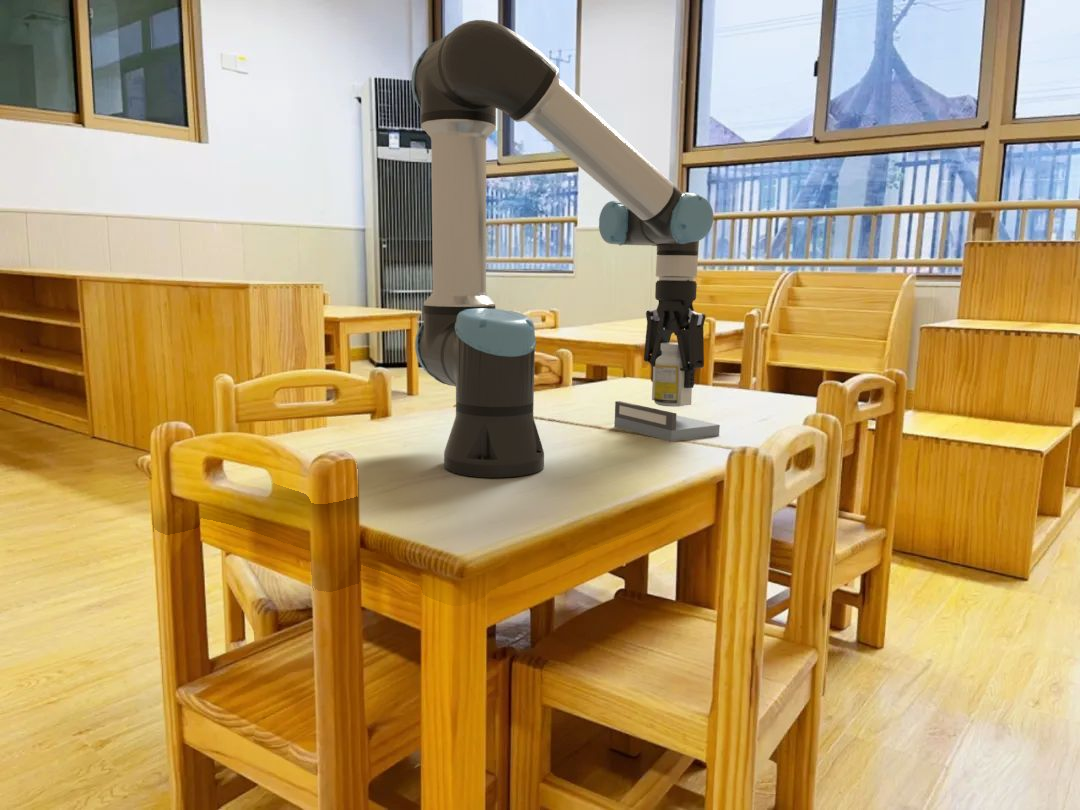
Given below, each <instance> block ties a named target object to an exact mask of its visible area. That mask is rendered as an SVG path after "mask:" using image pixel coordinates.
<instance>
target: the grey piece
mask: <svg viewBox="0 0 1080 810" xmlns="http://www.w3.org/2000/svg"><path fill="white" fill-rule="evenodd" d="M720 426H721V425H720V424H717V423H714V422H708V421H704V420H699V419H695V418H691V417H686V416H682V415H677V413H676V412H672V411H666V410H662V409H657V408H653V407H648V406H644V405H639V404H635V403H631V402H626V401H620V400H616V401H615V403H614V428H617V429H621V430H625V431H629V432H633V433H636V434H641V435H645V436H647V437H652V438H656V439H660V440H664V441H668V442H679V441H686V440H694V439H702V438H710V437H717V436H720V429H721V428H720Z"/></svg>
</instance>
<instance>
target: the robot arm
mask: <svg viewBox="0 0 1080 810" xmlns="http://www.w3.org/2000/svg"><path fill="white" fill-rule="evenodd" d="M410 81H411V84H410V86H411V91H412V96H413V98H414V101H415V103H416V105H417V106H418V107H419V109H420V122H421V124H420V125H421V126H420V127H421V128H422V129H423V131H424V132H426V134H427V135H428V136H429V137H430V140H431V141H430V142H431V143H430V144H431V153H430V154H431V224H432V225H431V226H432V227H431V228H432V230H431V231H432V232H431V233H432V235H431V236H432V238H431V239H432V244H431V246H432V248H431V250H432V293H431V295H430V296H429V297H427V299H426V300H425V301H424V302H423V323H422V324H421V325H420V327H419V328H418V330H417V332H416V336H415V342H414V349H415V355H416V358H417V361H418V363H419V365H420V367H422V369H423V370H424V372H426V374H428V375H429V376H430V377H432V378H434V380H436V381H438V382H439V383H442V384H444V385H447V386H451V387H455V418H454V421H453V424H452V427H451V430H450V433H449V435H448V439H447V442H446V446H445V448H444V451H443V467H444V469H446V470H448V471H449V472H451V473H455V474H458V475H461V476H462V475H463V476H468V477H469V476H470V477H477V478H478V477H479V478H513V477H521V476H527V475H528V476H529V475H532V474H536V473H538V472H541V471H542V470H543V469H544V468H545V451H544V448H543V444H542V441H541V438H540V435H539V431H538V429H537V428H538V427H537V425H536V421H535V416H534V405H535V404H534V402H535V400H534V397H535V396H534V394H535V358H536V357H535V356H536V354H535V353H536V351H535V350H536V344H537V341H536V332H535V324H534V322H533V320H532V318H531V317H530V316H528V315H526V314H524V313H522V312H521V313H520V312H518V311H512V310H505V309H501V308H500V309H499V308H496V303H495V301H494V300H493V299H492V298H491V297H490V296H489V295H488V294H487V140H488V138H489V137H490V136H491V135H492V134H493V133H494V132H495V130H496V129H497V125H496V124H497V122H496V121H497V110H500V111H501V112H503V113H504V114H506V115H507V116H508V117H510V118H511V119H512V120H514V122H516V123H518V122H520V123H521V122H526V123H528V124H529V125H530V126H531V127H532V128H534V129H535V130H536V131H537V132H538V133H539V134H541V135H542V136H543V138H545V139H547V140H548V141H549V142H550V143H551V144H552V145H554V147H556V149H558V150H559V151H561V152H562V153H563V154H564V155H565V156H566V157H567V158H568V159H570V160H571V161H572V162H573V163H575V164H576V166H578V167H579V168H580V169H581V170H583V171H584V172H585V173H586V174H588V176H589V177H590V178H592V179H593V180H594V181H595V182H597V183H598V185H600V186H601V187H602V188H603V189H605V190H606V191H608V193H609V194H611V195H612V196H613V197H614V198H616V200H610V201H608V202H607V203H605V204H604V206H603V207H602V209H601V210H600V213H599V218H598V230H599V235H600V236H601V239H602V240H603V241H604V242H605V243H607V244H609V245H610V244H611V245H618V246H620V247H621V246H625V245H626V246H652V247H656V267H655V276H656V277H657V278H658V280H657V281H656V282H655V288H654V290H655V291H654V293H655V294H654V295H655V296H654V297H655V298H654V299H655V300H656V301H658V305H657V308H656V309H653V310H652V309H651V310H647V311H646V312H645V316H646V332H645V341H644V342H645V343H644V350H643V351H644V352H643V354H644V355H643V360H644V362H648V363H649V365H650V366H651V368H650V369H651V370H650V371H651V375H650V380H651V381H650V382H651V383H652V389H651V390H652V391H651V392H652V393H651V401H654V393H655V362H656V359H657V358H658V357H659V356H661V355H662V351H661V343H670V341H671V337H672V334H674V336H676V340H677V343H678V346H679V352H680V357H681V362H682V367H683V368H680V370H679V385H678V406H679V407H685V406H692V393H693V388H694V386H695V371H696V370H698V369H702V368H704V366H705V351H704V349H705V348H704V345H705V344H704V343H705V342H704V339H705V338H704V326H705V321H706V314H705V313H701V312H700V313H699V312H697V311H695V309H694V306H693V305H694V303H693V302H694V301H696V299H697V286H698V285H697V284H698V283H697V282H696V281H695V280H694V279H696V278H697V277H698V258H699V241H701V240H702V239H705V237H706V236H708V234H709V232H710V231H711V230H712V227H713V223H714V210H713V207H712V205H711V202H710V201H709V200H708V199H707V198H706V197H705V196H703V195H700V194H695V193H692V192H683V191H682V190H681V189H679V188H678V187H677V186H676V185H675V184H674V183H673V182H672V181H670V180H669V179H668V177H666V176H665V175H664V174H663V173H662V172H660V170H659V169H657V168H656V166H654V165H653V164H652V162H650V161H649V160H648V159H647V158H646V157H644V156H643V154H641V153H640V152H638V150H637V149H636V148H634V146H632V145H631V144H630V143H629V142H628V141H627V140H626V139H625V138H624V137H623V136H622V135H621V134H620V133H618V131H617V130H615V129H614V128H613V127H612V125H610V124H608V122H606V121H605V120H604V119H603V118H602V117H601V116H600V115H599V114H598V113H596V111H595V110H594V109H592V108H591V107H590V106H589V105H588V104H587V103H586V102H585V101H583V99H581V98H580V97H579V96H578V95H577V94H576V93H575V92H574V91H573V90H572V89H570V88H569V87H568V86H567V85H566V84H565V83H564V81H562V80H561V79H560V78H559V68H558V67H557V66H556V64H554V62H553V61H551V60H550V59H549V58H548V57H547V56H546V55H545V54H544V53H542V51H540V50H539V49H538V48H536V46H534V45H533V44H532V43H531V42H530V41H528V40H527V39H525V38H524V37H523V36H521V35H520V34H518V33H517V32H515V31H513V30H512V29H510V28H508V27H506V26H504V25H503V24H500V23H497V22H494V21H492V20H485V19H475V20H469V21H466V22H464V23H462V24H459V25H458V26H457V27H455V28H454V29H453V30H452V31H451V32H450V33H447V35H445V36H444V37H441V38H439V39H438V40H437V39H436V41H433V42H432V43H430V44H429V45H428V46H427V47H426V48H425V49H424V50H423V52H422V53H421V54H420V56H419V57H418V59H417V60H416V62H415V64H414V67H413V69H412V73H411V80H410ZM688 362H689V363H688ZM684 405H685V406H684Z"/></svg>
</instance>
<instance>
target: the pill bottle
mask: <svg viewBox="0 0 1080 810" xmlns="http://www.w3.org/2000/svg"><path fill="white" fill-rule="evenodd" d="M661 351H662V355H661V356H659V357H658V358H657V359H656V362H655V393H654V400H653V401H654V404H655V405H657V406H661V407H662V406H663V407H673V408H674V407H680V406H678V385H679V370H680V368H683V367H682V362H681V357H680V352H679V346H678V342H669V343H661ZM688 363H689V362H688ZM683 407H686V405H684V406H683Z"/></svg>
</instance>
